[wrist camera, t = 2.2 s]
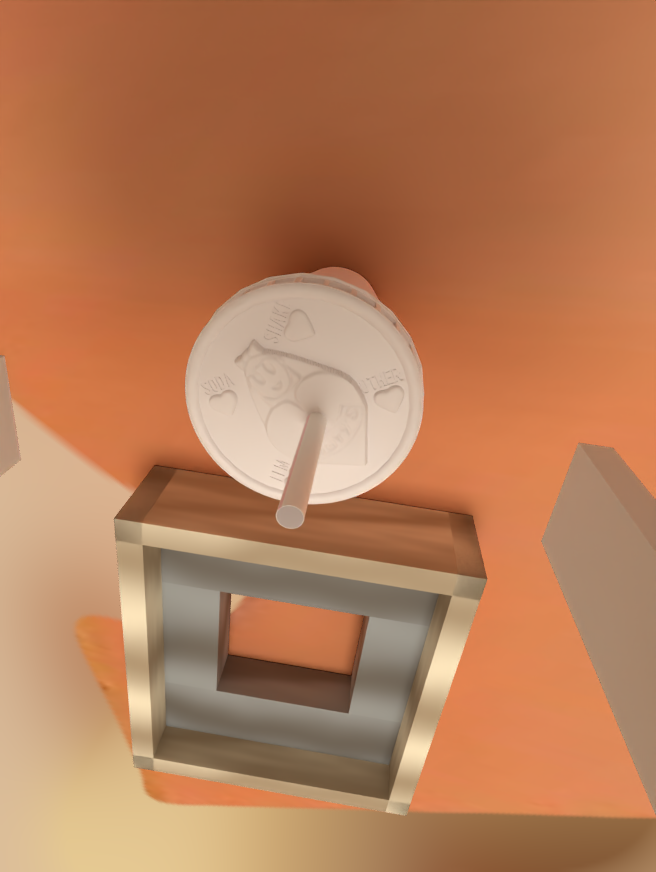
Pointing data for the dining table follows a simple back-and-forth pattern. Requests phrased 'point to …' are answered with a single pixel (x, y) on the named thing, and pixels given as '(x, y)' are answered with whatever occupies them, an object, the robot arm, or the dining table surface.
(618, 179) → the dining table surface
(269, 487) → the smoothie
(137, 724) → the socket box
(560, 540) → the robot arm
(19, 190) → the dining table surface
